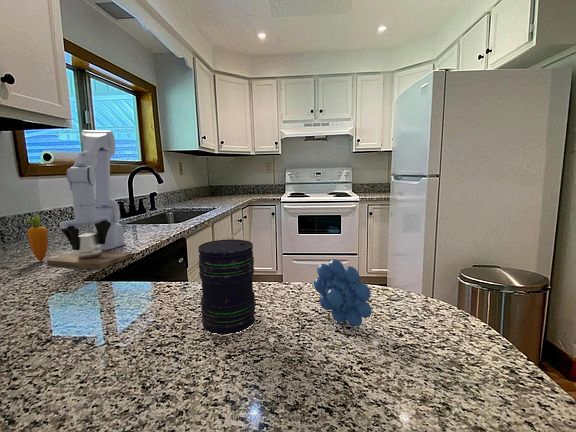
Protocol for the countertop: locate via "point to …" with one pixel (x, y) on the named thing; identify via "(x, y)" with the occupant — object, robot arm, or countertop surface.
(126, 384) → the countertop surface
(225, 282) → the dark blue cylinder
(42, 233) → the carrot
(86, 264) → the lock board
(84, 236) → the cap
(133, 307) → the countertop surface
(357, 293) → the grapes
